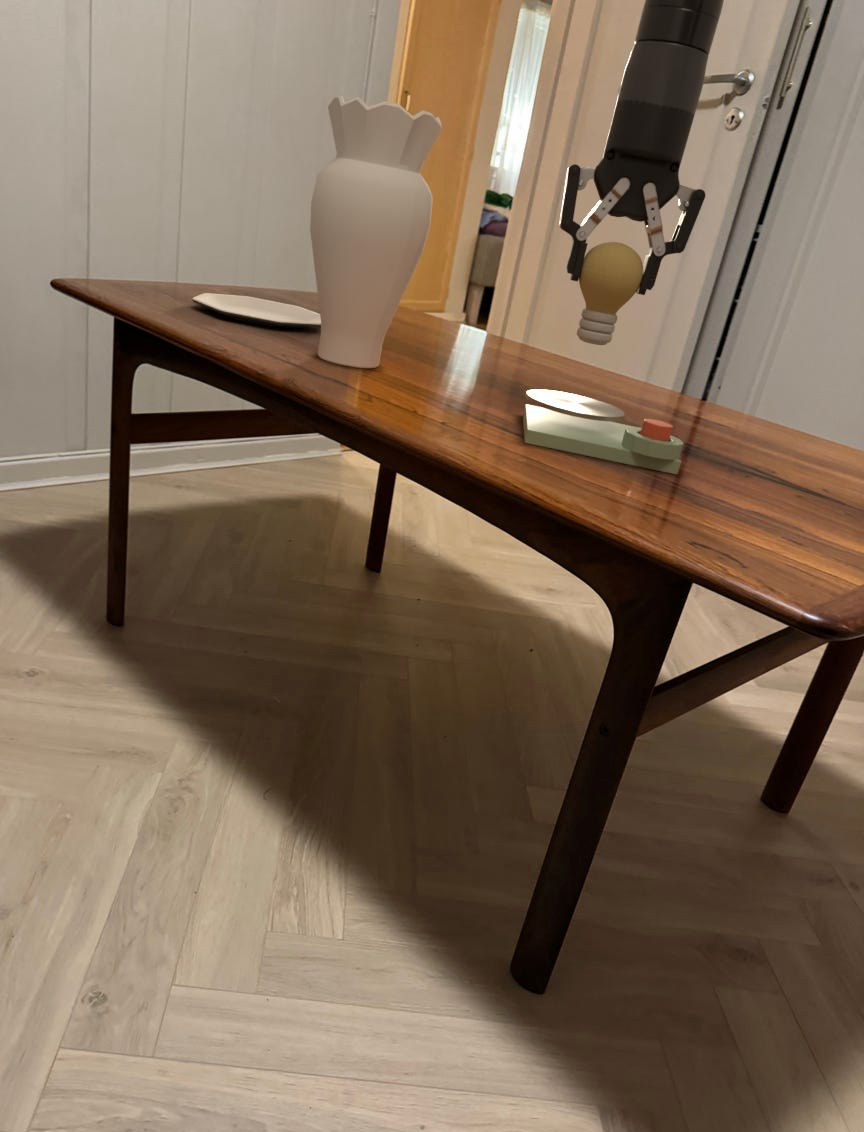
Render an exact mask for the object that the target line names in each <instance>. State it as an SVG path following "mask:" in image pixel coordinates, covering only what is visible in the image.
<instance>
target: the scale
mask: <svg viewBox="0 0 864 1132" xmlns="http://www.w3.org/2000/svg"><path fill="white" fill-rule="evenodd" d="M522 425H523V441H524V442H523V443H524V444H528V445H533V446H537V447H541V448H542V447H543V448H548V449H553V450H555V451H556V450H557V451H562V452H566V453H571V454H577V455H581V456H584V457H585V456H586V457H590V458H595V459H601V460H605V461H609V462H615V463H619V464H624V465H628V466H632V467H633V466H634V467H638V468H643V469H648V470H651V471H657V472H661V473H667V474H672V475H676V476H677V475H678V474H679V471H680V467H681V465H682V460H681V459H680V457H681V454H682V451H683V448H684V445H685V444H684V442H683V440H681V439H680V438H678V437H676V436H673V435H672V434H671V435H670V439H669V442H668V441H660V440H655V439H651V438H648V437H644V436H642V435H640V432H641V429H642V427H639V426H634V425H629V424H624V423H619V422H616V421H598V420H590V419H585V418H579V417H575V416H570V415H566V414H562V413H559V412H555V411H552V410H549V409H546V408H543V407H540V406H538V405H532V404H528V403H526V404H525V405H524V409H523V414H522Z"/></svg>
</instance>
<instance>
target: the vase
mask: <svg viewBox="0 0 864 1132" xmlns="http://www.w3.org/2000/svg"><path fill="white" fill-rule="evenodd" d="M327 109H328V114H329V119H330V120H329V121H330V124H331V129H332V135H333V140H334V146H335V151H336V156H335V158H333V159H332V160H331V161H329V162H328V163H327V164H325V165H324V166H323V167H322V169H321V170H320V171H319V173H318V174H317V175H316V179H315V183H314V188H313V192H312V198H311V203H310V205H311V206H310V225H309V227H310V229H309V232H310V240H311V249H312V256H313V266H314V275H315V283H316V291H317V299H318V307H319V314H320V318H321V327H320V336H319V342H318V343H319V344H318V349H317V350H318V351H317V356H318V357H319V358H320V359H321V360H323V361H325V362H328V363H332V364H335V365H339V366H344V367H349V368H356V369H357V368H358V369H377V368H378V367H379V366H380V360H381V356H382V355H381V354H382V349H383V343H384V341H385V338H386V334H387V331H388V330H389V327H390V326H391V324H392V321H393V319H394V316H395V314H396V312H397V310H398V308H399V306H400V303H401V302H402V299H403V297H404V295H405V293H406V290H407V289H408V286H409V284H410V282H411V279H412V277H413V275H414V273H415V271H416V269H417V266H418V265H419V262H420V259H421V258H422V255H423V253H424V250H425V246H426V242H427V240H428V236H429V232H430V228H431V222H432V213H433V212H432V211H433V202H434V201H433V200H434V198H433V195H432V192H431V189H430V186H429V184H428V183H427V181H426V180H425V179H424V176H422V174H421V173H422V169H423V166H424V163H425V161H426V159H427V157H428V155H429V153H430V151H431V150H432V148H433V146H434V144H435V142H436V141H437V138H438V137H439V135H440V133H441V131H442V130H443V127H442V121H441V118H440V117H439V116H436V117H435V116H434V114H433V113H432V112H430V111H427V110H423V109H422V110H420V111H419V112H418V113H416V114H411V113H410V112H409V111H407V110H406V109H405V107H403V106H402V105H401V104H399V103H394V102H391V101H385V100H383V101H381V102H378V103H376V104H372V105H369V106H368V105H367V104H366V103H365V101H364V100H363V99H361V97H360V96H357V97H354V98H352V99H349V100H347V101H345V98H344V96H343V95H342V94H337V95H335V96H334V97H333V98H332V100H331V102H330V103H329V104H328V105H327Z"/></svg>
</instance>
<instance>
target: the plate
mask: <svg viewBox="0 0 864 1132" xmlns="http://www.w3.org/2000/svg"><path fill="white" fill-rule="evenodd" d="M191 301H192V302H193V303H194V304H197V305H199V306H201V307H204V308H207V309H209V310H212V311H214V312H216V313H218V314H221V315H222V316H223V315H224V316H226V317H228V318H230V319H233V320H237V321H241V322H246V323H251V324H256V325H262V326H266V327H274V328H288V329H289V328H291V329H303V328H309V327H312V328H313V327H314V328H321V318H320V313H318V312H316V311H313V310H310V309H307V308H305V307H302V306H299V305H294V304H290V303H289V304H288V303H284V302H279V301H273V300H268V299H263V298H258V297H253V296H246V295H235V294H223V293H212V292H204V293H201V294H199V295H196V296H194V297H192V298H191Z"/></svg>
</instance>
